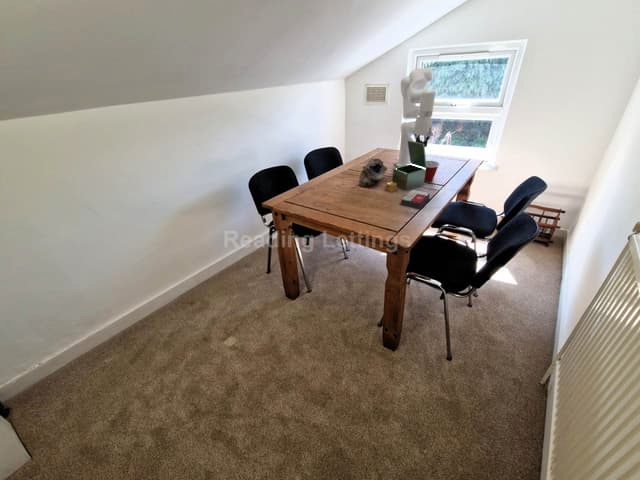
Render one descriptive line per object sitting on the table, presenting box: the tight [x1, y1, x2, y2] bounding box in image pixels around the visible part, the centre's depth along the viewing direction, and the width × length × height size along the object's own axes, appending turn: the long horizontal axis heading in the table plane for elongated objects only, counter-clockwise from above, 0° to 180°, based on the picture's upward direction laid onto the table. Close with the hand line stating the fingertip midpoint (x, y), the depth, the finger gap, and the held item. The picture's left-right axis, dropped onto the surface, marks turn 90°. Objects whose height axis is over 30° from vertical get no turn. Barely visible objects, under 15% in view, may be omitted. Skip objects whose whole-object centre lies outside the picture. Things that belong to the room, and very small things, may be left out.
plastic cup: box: [424, 160, 440, 183], centre depth 185 cm, size 11×11×12 cm
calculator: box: [400, 189, 431, 210], centre depth 161 cm, size 11×4×15 cm
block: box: [385, 181, 397, 193], centre depth 177 cm, size 4×4×4 cm
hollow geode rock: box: [358, 158, 388, 187], centre depth 191 cm, size 28×13×15 cm
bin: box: [391, 164, 426, 191], centre depth 181 cm, size 16×13×11 cm
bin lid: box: [407, 139, 427, 168], centre depth 176 cm, size 16×13×5 cm
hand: (420, 145), depth 174 cm, fingers closed on bin lid, 5 cm apart
